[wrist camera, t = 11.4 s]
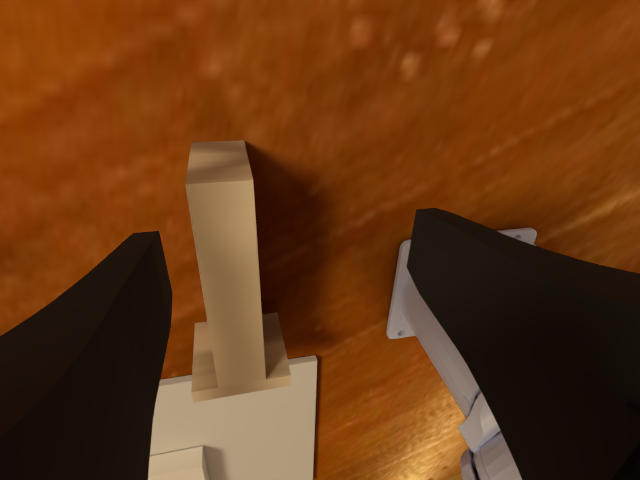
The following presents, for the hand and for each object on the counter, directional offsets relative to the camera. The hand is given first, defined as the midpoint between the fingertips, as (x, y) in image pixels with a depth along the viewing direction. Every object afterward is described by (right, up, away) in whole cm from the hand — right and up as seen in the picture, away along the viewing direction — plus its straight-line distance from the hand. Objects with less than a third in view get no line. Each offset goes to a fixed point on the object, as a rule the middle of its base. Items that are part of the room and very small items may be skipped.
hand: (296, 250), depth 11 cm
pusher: (-4, 0, +10) cm, 11 cm away
